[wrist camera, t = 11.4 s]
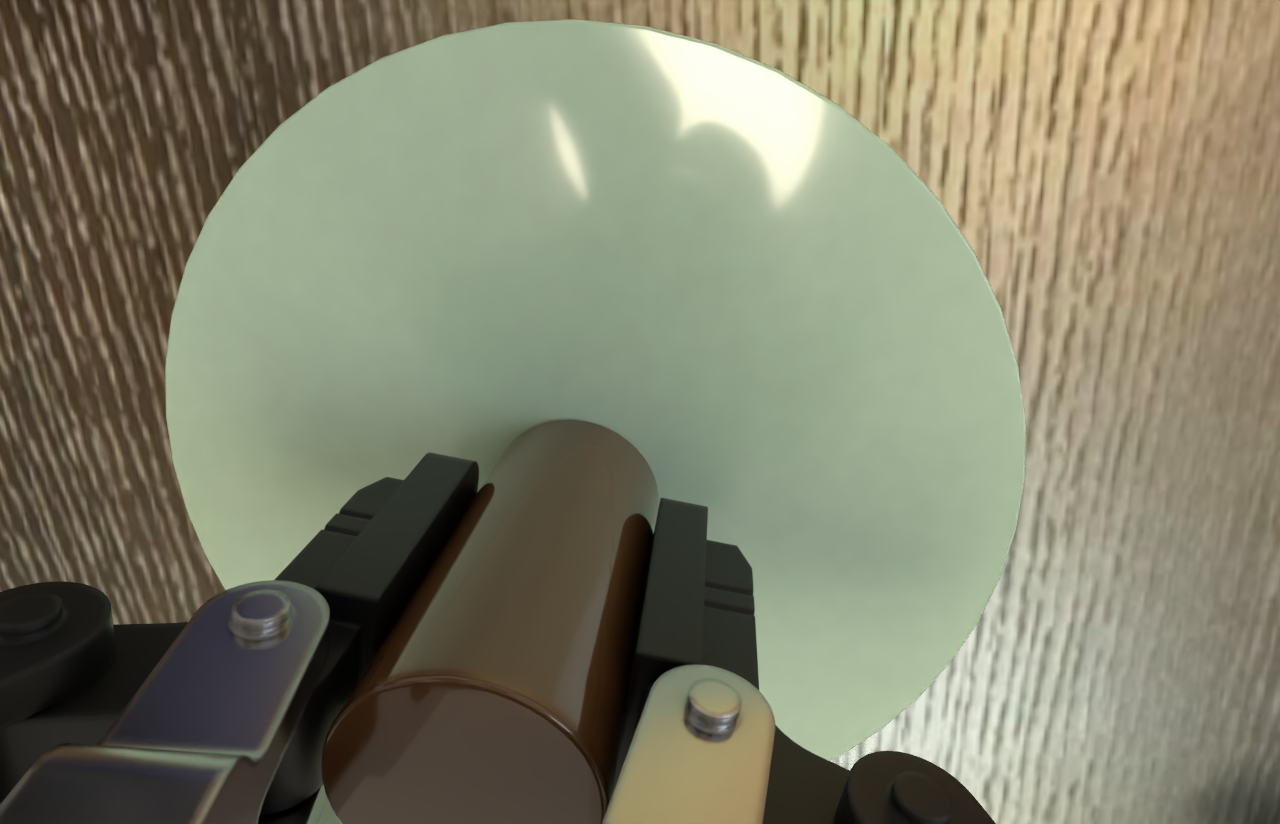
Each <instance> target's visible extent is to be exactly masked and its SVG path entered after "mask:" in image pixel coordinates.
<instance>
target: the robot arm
mask: <svg viewBox="0 0 1280 824" xmlns="http://www.w3.org/2000/svg"><path fill="white" fill-rule="evenodd" d="M478 481H479V466H478V463H477V462H476V461H472V460H467V459H462V458H457V457H451V456H446V455H441V454H436V453H431V452H429V453H427V454H426V455H425V456H424V457H423V458H422V459H421V460H420V462H419V463H418V464H417V465H416V466H415V468H414V469H413V470H412V471H411V472H410V474H409V475H408V476H407V477H406V478H405V480H400V479H395V478H390V477H385V478H383V479H381V480H379V481H377V482H375V483H373V484H370V485H368V486H366V487H364V488H362V489H360V490H358V491H357V492H356V493H355V494H354V495H353V496H352V497H351V498H350V499H349V500H348V502H347V503H346V504H345V505H344V506H343V507H342V508H341V509H340V512H339V514H337V513H336V514H335V515H334V517H333V518H332V519H331V520H330V521H329V522H328V523H327V524H326V525H325V529H324V530H322V529H321V530H320V531H319V533H318V534H317V535H316V536H315V537H314V538H313V539H312V540H311V541H310V542H309V543H308V544H307V545H306V546H305V548H304V549H303V550H302V551H301V552H300V553H299V554H298V555H297V556H296V557H295V558H294V559H293V560H292V561H291V563H290V564H289V565H288V566H287V567H286V568H285V569H284V570H283V571H282V572H281V573H280V574H279V575H278V576H277V578H276V579H275V580H270V581H258V582H251V583H247V584H243V585H239V586H236V587H233V588H230V589H228V590H226V591H224V592H221V593H219V594H217V595H216V596H214V597H213V598H211V599H209V600H208V601H207V602H206V603H204V604H203V605H202V606H201V607H200V608H199V609H198V610H197V611H196V613H195V614H194V615H193V617H192V618H191V619H190V621H189V622H183V623H162V624H125V625H113V619H112V611H111V603H110V601H109V599H108V597H107V596H106V595H105V594H104V593H103V592H101V591H100V590H98V589H96V588H94V587H91V586H88V585H85V584H80V583H74V582H45V583H36V584H30V585H25V586H20V587H17V588H13V589H9V590H6V591H3V592H0V824H318V823H319V820H320V818H321V815H322V812H323V809H324V807H325V804H326V801H327V796H326V793H325V789H324V785H323V781H322V770H321V763H322V752H323V746H324V742H325V739H326V735H327V733H328V731H329V729H330V727H331V725H332V723H333V721H334V720H335V718H336V716H337V715H338V713H339V712H340V710H341V708H342V707H343V705H344V704H345V702H346V700H347V699H348V697H349V696H350V694H351V693H352V691H353V689H354V688H355V686H356V685H357V683H358V681H359V680H360V678H361V677H362V675H363V673H364V672H365V670H366V669H367V667H368V666H369V664H370V662H371V661H372V659H373V658H374V656H375V654H376V653H377V651H378V650H379V648H380V646H381V645H382V643H383V642H384V640H385V639H386V637H387V635H388V634H389V632H390V631H391V629H392V627H393V626H394V624H395V623H396V621H397V619H398V618H399V616H400V615H401V613H402V612H403V610H404V608H405V607H406V605H407V604H408V602H409V600H410V599H411V597H412V596H413V594H414V592H415V591H416V589H417V588H418V586H419V585H420V583H421V581H422V580H423V578H424V577H425V575H426V573H427V572H428V570H429V569H430V567H431V565H432V564H433V562H434V561H435V559H436V558H437V556H438V554H439V553H440V551H441V550H442V548H443V546H444V545H445V543H446V542H447V540H448V538H449V537H450V535H451V534H452V532H453V530H454V529H455V527H456V526H457V524H458V523H459V521H460V519H461V518H462V516H463V515H464V513H465V511H466V510H467V508H468V507H469V505H470V503H471V502H472V500H473V499H474V497H475V496H476V494H477V492H478ZM707 521H708V507H707V506H702V505H697V504H692V503H687V502H682V501H676V500H671V499H666V498H661V499H660V503H659V508H658V513H657V518H656V523H655V528H654V533H653V539H652V545H651V551H650V557H649V564H648V570H647V576H646V582H645V588H644V594H643V600H642V606H641V612H640V618H639V624H638V630H637V636H636V642H635V648H634V655H633V661H632V667H631V673H630V679H629V685H628V691H627V697H626V703H625V709H624V723H623V731H622V738H621V744H620V750H619V757H618V763H617V769H616V775H615V781H614V787H613V794H612V797H611V800H610V803H609V805H608V808H607V811H606V814H605V816H604V819H603V822H602V824H996V823H995V822H994V821H993V820H992V819H991V817H990V816H989V815H988V814H987V812H986V811H985V810H984V809H983V807H982V806H981V805H980V804H979V803H978V801H977V800H976V799H975V798H974V796H973V795H972V794H971V793H970V792H969V791H968V790H967V789H966V788H965V787H964V786H963V785H962V784H961V783H960V782H959V781H958V780H957V779H955V778H954V777H953V776H952V775H950V774H949V773H947V772H946V771H945V770H943V769H941V768H940V767H938V766H936V765H935V764H933V763H931V762H929V761H927V760H924V759H922V758H920V757H917V756H914V755H911V754H907V753H902V752H895V751H880V752H874V753H871V754H868V755H866V756H864V757H862V758H860V759H859V760H858V761H857V762H856V763H855V764H854V766H853V767H852V769H851V770H850V771H849V770H847V769H845V768H843V767H841V766H839V765H837V764H835V763H832V762H830V761H828V760H826V759H824V758H822V757H820V756H818V755H816V754H814V753H812V752H810V751H808V750H806V749H804V748H803V747H801V746H800V745H798V744H797V743H795V742H794V741H792V740H791V739H790V738H789V737H788V736H786V735H785V734H784V733H783V732H782V731H781V730H780V729H779V728H778V727H777V726H776V725H775V718H774V713H773V711H772V709H771V706H770V704H769V703H768V701H767V700H766V698H765V697H764V696H763V695H762V693H761V692H760V691H759V676H758V659H757V642H756V624H755V616H754V612H755V607H754V596H753V592H754V590H753V572H752V567H751V566H750V564H749V563H748V561H747V560H746V558H745V557H744V555H743V554H742V552H741V551H740V549H739V548H738V546H736V545H731V544H726V543H721V542H716V541H711V540H707Z"/></svg>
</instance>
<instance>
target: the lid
mask: <svg viewBox="0 0 1280 824" xmlns="http://www.w3.org/2000/svg"><path fill="white" fill-rule="evenodd" d="M165 379H166V419H167V425H168V432H169V439H170V445H171V452H172V458H173V465H174V468H175V472H176V475H177V479H178V482H179V486H180V489H181V493H182V496H183V500H184V503H185V507H186V510H187V513H188V515H189V518H190V520H191V522H192V525H193V527H194V529H195V532H196V534H197V536H198V539H199V541H200V543H201V546H202V548H203V550H204V553H205V555H206V557H207V559H208V561H209V562H210V564H211V566H212V568H213V569H214V571H215V573H216V575H217V576H218V578H219V580H220V582H221V583H222V585H223V587H224V589H225V590H228V589H230V588H233V587H236V586H239V585H243V584H247V583H251V582H258V581H270V580H275V579H276V578H277V576H278V575H279V574H280V573H281V572H282V571H283V570H284V569H285V568H286V567H287V566H288V565H289V564H290V563H291V561H292V560H293V559H294V558H295V557H296V556H297V555H298V554H299V553H300V552H301V551H302V550H303V549H304V548H305V546H306V545H307V544H308V543H309V542H310V541H311V540H312V539H313V538H314V537H315V536H316V535H317V534H318V533H319V531H320V530H321V529H322V530H324V529H325V525H326V524H327V523H328V522H329V521H330V520H331V519H332V518H333V517H334V515H335V514H336V513H337V514H339V512H340V509H341V508H342V507H343V506H344V505H345V504H346V503H347V502H348V500H349V499H350V498H351V497H352V496H353V495H354V494H355V493H356V492H357V491H358V490H360V489H362V488H364V487H366V486H368V485H370V484H373V483H375V482H377V481H379V480H381V479H383V478H385V477H390V478H395V479H400V480H405V478H406V477H407V476H408V475H409V474H410V472H411V471H412V470H413V469H414V468H415V466H416V465H417V464H418V463H419V462H420V460H421V459H422V458H423V457H424V456H425V455H426V454H427V453H429V452H431V453H436V454H441V455H446V456H451V457H457V458H462V459H467V460H472V461H476V462H477V463H478V466H479V481H478V492H477V494H476V496H475V497H474V499H473V500H472V502H471V503H470V505H469V507H468V508H467V510H466V511H465V513H464V515H463V516H462V518H461V519H460V521H459V523H458V524H457V526H456V527H455V529H454V530H453V532H452V534H451V535H450V537H449V538H448V540H447V542H446V543H445V545H444V546H443V548H442V550H441V551H440V553H439V554H438V556H437V558H436V559H435V561H434V562H433V564H432V565H431V567H430V569H429V570H428V572H427V573H426V575H425V577H424V578H423V580H422V581H421V583H420V585H419V586H418V588H417V589H416V591H415V592H414V594H413V596H412V597H411V599H410V600H409V602H408V604H407V605H406V607H405V608H404V610H403V612H402V613H401V615H400V616H399V618H398V619H397V621H396V623H395V624H394V626H393V627H392V629H391V631H390V632H389V634H388V635H387V637H386V639H385V640H384V642H383V643H382V645H381V646H380V648H379V650H378V651H377V653H376V654H375V656H374V658H373V659H372V661H371V662H370V664H369V666H368V667H367V669H366V670H365V672H364V673H363V675H362V677H361V678H360V680H359V681H358V683H357V685H356V686H355V688H354V689H353V691H352V693H351V694H350V696H349V697H348V699H347V700H346V702H345V704H344V705H343V707H342V708H341V710H340V712H339V713H338V715H337V716H336V718H335V720H334V721H333V723H332V725H331V727H330V729H329V731H328V733H327V735H326V739H325V742H324V746H323V752H322V763H321V770H322V781H323V785H324V789H325V793H326V796H327V798H328V801H329V803H330V805H331V808H332V810H333V811H334V813H335V815H336V816H337V818H338V820H339V821H340V823H341V824H602V822H603V819H604V816H605V814H606V811H607V808H608V805H609V803H610V800H611V797H612V794H613V787H614V781H615V775H616V769H617V763H618V757H619V750H620V744H621V738H622V731H623V723H624V709H625V703H626V697H627V691H628V685H629V679H630V673H631V667H632V661H633V655H634V648H635V642H636V636H637V630H638V624H639V618H640V612H641V606H642V600H643V594H644V588H645V582H646V576H647V570H648V564H649V557H650V551H651V545H652V539H653V533H654V528H655V523H656V518H657V513H658V508H659V503H660V499H661V498H666V499H671V500H676V501H682V502H687V503H692V504H697V505H702V506H707V507H708V521H707V540H711V541H716V542H721V543H726V544H731V545H736V546H738V548H739V549H740V551H741V552H742V554H743V555H744V557H745V558H746V560H747V561H748V563H749V564H750V566H751V567H752V572H753V590H754V592H753V596H754V607H755V612H754V616H755V624H756V642H757V659H758V676H759V691H760V692H761V693H762V695H763V696H764V697H765V698H766V700H767V701H768V703H769V704H770V706H771V709H772V711H773V713H774V718H775V725H776V726H777V727H778V728H779V729H780V730H781V731H782V732H783V733H784V734H785V735H786V736H788V737H789V738H790V739H791V740H792V741H794V742H795V743H797V744H798V745H800V746H801V747H803V748H804V749H806V750H808V751H810V752H812V753H814V754H816V755H818V756H820V757H822V758H824V759H826V760H828V761H830V760H832V759H834V758H837V757H839V756H841V755H842V754H844V753H845V752H847V751H849V750H850V749H852V748H853V747H855V746H856V745H858V744H859V743H861V742H862V741H864V740H865V739H867V738H869V737H870V736H872V735H873V734H875V733H876V732H878V731H879V730H881V729H882V728H883V727H884V726H886V725H887V724H888V723H889V722H890V721H892V720H893V719H894V718H895V717H896V716H897V715H899V714H900V713H901V712H902V711H903V710H905V709H906V708H907V707H908V706H909V705H911V704H912V703H913V702H914V701H915V700H916V699H918V697H919V696H920V695H921V694H922V693H923V692H924V691H925V690H926V689H927V688H928V687H929V685H930V684H931V683H932V682H933V681H934V680H935V679H936V678H937V677H938V676H939V674H940V673H941V672H942V671H943V670H944V669H945V668H946V667H947V666H948V665H949V664H950V662H951V661H952V659H953V658H954V656H955V655H956V653H957V652H958V651H959V649H960V648H961V646H962V645H963V643H964V642H965V640H966V639H967V638H968V636H969V635H970V633H971V632H972V630H973V629H974V627H975V626H976V625H977V623H978V621H979V619H980V617H981V615H982V613H983V611H984V609H985V607H986V605H987V603H988V601H989V599H990V597H991V595H992V593H993V591H994V589H995V587H996V585H997V583H998V581H999V579H1000V576H1001V573H1002V570H1003V567H1004V564H1005V561H1006V558H1007V555H1008V552H1009V549H1010V546H1011V543H1012V540H1013V537H1014V534H1015V531H1016V526H1017V520H1018V514H1019V508H1020V502H1021V497H1022V491H1023V485H1024V479H1025V440H1026V419H1025V412H1024V405H1023V398H1022V390H1021V383H1020V376H1019V369H1018V363H1017V360H1016V357H1015V353H1014V350H1013V347H1012V343H1011V340H1010V337H1009V333H1008V330H1007V327H1006V323H1005V320H1004V317H1003V313H1002V310H1001V307H1000V305H999V303H998V301H997V299H996V297H995V294H994V292H993V290H992V288H991V286H990V284H989V282H988V280H987V278H986V275H985V273H984V271H983V269H982V267H981V265H980V263H979V261H978V259H977V256H976V254H975V252H974V251H973V249H972V248H971V246H970V245H969V243H968V242H967V240H966V239H965V237H964V236H963V234H962V233H961V231H960V230H959V228H958V227H957V225H956V224H955V222H954V221H953V220H952V218H951V217H950V215H949V214H948V212H947V211H946V209H945V208H944V206H943V205H942V203H941V202H940V200H939V199H938V198H937V196H936V195H935V194H934V193H933V192H932V191H931V190H930V189H929V188H928V187H927V186H926V185H925V183H924V182H923V181H922V180H921V179H920V178H919V177H918V176H917V175H916V174H915V173H914V171H913V170H912V169H911V168H910V167H909V166H908V165H907V164H906V163H905V162H904V161H903V159H902V158H901V157H900V156H899V155H898V154H897V153H896V152H895V151H894V150H893V149H892V148H891V147H890V146H889V145H887V144H886V143H885V142H884V141H882V140H881V139H880V138H879V137H877V136H876V135H875V134H874V133H873V132H871V131H870V130H869V129H868V128H866V127H865V126H864V125H863V124H861V123H860V122H859V121H858V120H856V119H855V118H854V117H853V116H852V115H850V114H849V113H848V112H847V111H845V110H844V109H843V108H842V107H840V106H839V105H837V104H836V103H834V102H832V101H831V100H829V99H827V98H826V97H824V96H822V95H821V94H819V93H817V92H815V91H814V90H812V89H810V88H809V87H807V86H805V85H804V84H802V83H800V82H799V81H797V80H795V79H794V78H792V77H790V76H789V75H787V74H785V73H783V72H782V71H780V70H778V69H775V68H773V67H771V66H768V65H766V64H763V63H761V62H759V61H756V60H754V59H751V58H749V57H746V56H744V55H742V54H739V53H737V52H734V51H732V50H729V49H727V48H725V47H722V46H720V45H717V44H715V43H711V42H707V41H703V40H699V39H695V38H691V37H687V36H683V35H679V34H675V33H671V32H667V31H664V30H660V29H656V28H652V27H648V26H640V25H631V24H621V23H611V22H601V21H591V20H581V19H566V20H545V21H525V22H507V23H502V24H497V25H492V26H487V27H482V28H477V29H472V30H467V31H462V32H457V33H452V34H447V35H442V36H439V37H436V38H434V39H431V40H428V41H425V42H423V43H420V44H417V45H415V46H412V47H409V48H406V49H404V50H401V51H398V52H396V53H393V54H390V55H387V56H385V57H382V58H380V59H378V60H376V61H374V62H373V63H371V64H369V65H367V66H365V67H364V68H362V69H360V70H358V71H356V72H355V73H353V74H351V75H349V76H347V77H346V78H344V79H342V80H340V81H338V82H337V83H335V84H333V85H331V86H330V87H328V88H326V89H325V90H324V91H322V92H321V93H320V94H318V95H317V96H316V97H315V98H313V99H312V100H311V101H310V102H308V103H307V104H306V105H304V106H303V107H302V108H301V109H299V110H298V111H297V112H296V113H294V114H293V115H292V116H290V117H289V118H288V119H287V120H285V121H284V122H283V123H282V124H280V125H279V126H278V127H277V128H276V129H275V130H274V132H273V133H272V134H271V135H270V136H269V137H268V138H267V139H266V140H265V141H264V142H263V143H262V145H261V146H260V147H259V148H258V149H257V150H256V151H255V152H254V153H253V154H252V155H251V156H250V158H249V159H248V160H247V161H246V162H245V163H244V164H243V165H242V166H241V167H240V169H239V170H238V172H237V173H236V175H235V176H234V178H233V179H232V181H231V182H230V184H229V185H228V187H227V188H226V190H225V191H224V193H223V194H222V196H221V197H220V199H219V200H218V202H217V203H216V205H215V206H214V208H213V209H212V211H211V212H210V214H209V215H208V218H207V220H206V222H205V224H204V226H203V228H202V231H201V233H200V235H199V237H198V239H197V242H196V244H195V246H194V248H193V250H192V252H191V255H190V257H189V259H188V261H187V263H186V266H185V270H184V273H183V277H182V281H181V284H180V288H179V291H178V295H177V298H176V302H175V305H174V309H173V312H172V317H171V325H170V333H169V341H168V348H167V356H166V364H165Z"/></svg>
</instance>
